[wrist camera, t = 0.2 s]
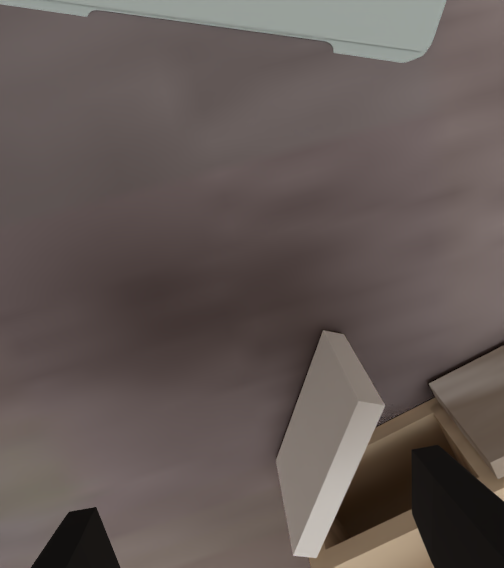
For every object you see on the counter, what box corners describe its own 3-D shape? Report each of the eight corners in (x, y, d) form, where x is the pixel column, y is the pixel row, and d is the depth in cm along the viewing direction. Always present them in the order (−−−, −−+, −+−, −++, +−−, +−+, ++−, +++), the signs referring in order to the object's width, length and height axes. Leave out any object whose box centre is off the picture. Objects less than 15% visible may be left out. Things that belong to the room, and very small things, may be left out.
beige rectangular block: (617, 432, 24) (728, 522, 18) (353, 556, 25) (389, 668, 20) (576, 292, 20) (701, 355, 15) (272, 448, 22) (291, 551, 17)
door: (343, 334, 19) (385, 405, 15) (294, 463, 22) (316, 558, 17) (323, 330, 19) (358, 401, 15) (275, 460, 22) (293, 555, 17)
